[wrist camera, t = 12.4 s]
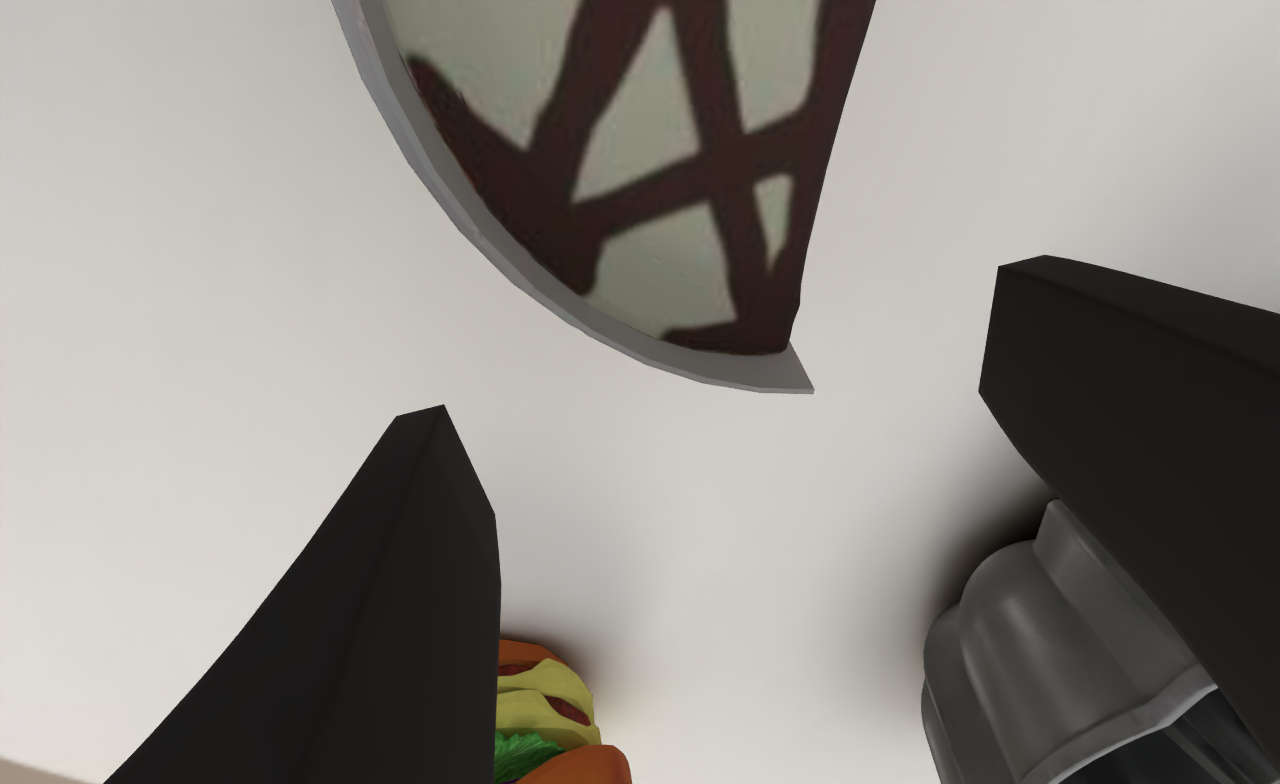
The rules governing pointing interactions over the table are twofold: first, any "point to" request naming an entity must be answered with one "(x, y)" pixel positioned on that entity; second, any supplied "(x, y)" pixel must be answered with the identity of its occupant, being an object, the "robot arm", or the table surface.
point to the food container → (628, 157)
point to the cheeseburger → (548, 724)
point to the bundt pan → (1073, 678)
